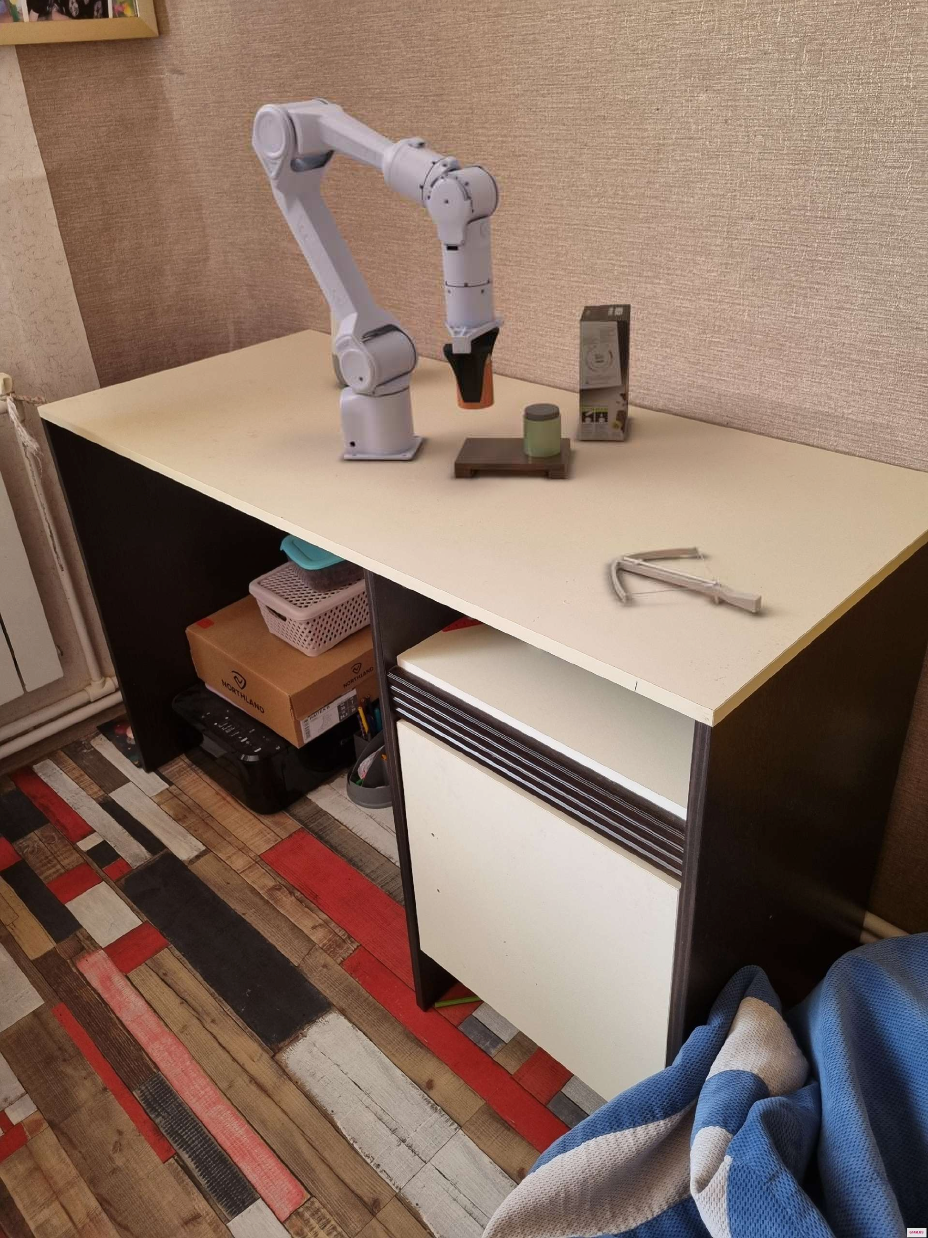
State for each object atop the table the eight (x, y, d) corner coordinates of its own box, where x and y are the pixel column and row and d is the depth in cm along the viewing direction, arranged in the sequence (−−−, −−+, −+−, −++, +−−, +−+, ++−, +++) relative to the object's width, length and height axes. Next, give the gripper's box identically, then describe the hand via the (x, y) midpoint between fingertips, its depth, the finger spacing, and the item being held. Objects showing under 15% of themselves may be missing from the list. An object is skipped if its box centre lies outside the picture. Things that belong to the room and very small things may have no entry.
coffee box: (625, 441, 128) (628, 319, 119) (577, 440, 129) (577, 320, 121) (629, 418, 135) (632, 302, 127) (584, 417, 137) (584, 303, 128)
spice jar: (454, 409, 117) (451, 361, 114) (461, 397, 121) (457, 350, 118) (491, 409, 116) (489, 361, 113) (496, 397, 120) (494, 350, 117)
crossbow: (580, 595, 95) (579, 577, 94) (652, 549, 102) (652, 531, 101) (721, 640, 85) (722, 620, 84) (791, 585, 92) (792, 566, 91)
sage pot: (521, 457, 120) (520, 415, 117) (526, 443, 124) (525, 402, 121) (559, 457, 119) (559, 415, 116) (563, 443, 123) (562, 402, 120)
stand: (455, 477, 121) (453, 463, 120) (467, 451, 128) (466, 437, 127) (564, 478, 118) (564, 463, 117) (570, 451, 126) (570, 437, 125)
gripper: (493, 295, 104) (498, 414, 111) (510, 267, 116) (514, 376, 123) (430, 297, 105) (440, 414, 112) (453, 269, 117) (461, 377, 124)
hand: (475, 394), depth 118 cm, fingers closed on spice jar, 4 cm apart
